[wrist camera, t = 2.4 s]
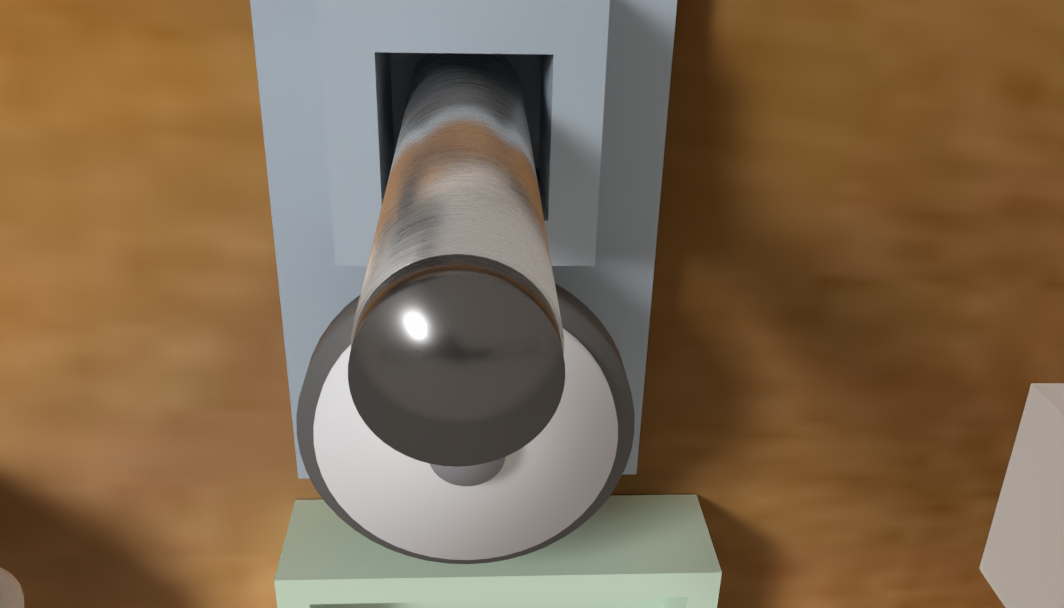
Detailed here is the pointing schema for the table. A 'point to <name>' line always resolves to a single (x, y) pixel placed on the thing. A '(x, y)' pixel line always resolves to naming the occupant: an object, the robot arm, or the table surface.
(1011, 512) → the robot arm
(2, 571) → the cup
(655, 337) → the table surface
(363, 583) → the tray
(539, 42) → the block
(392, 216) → the dark capped cylinder
